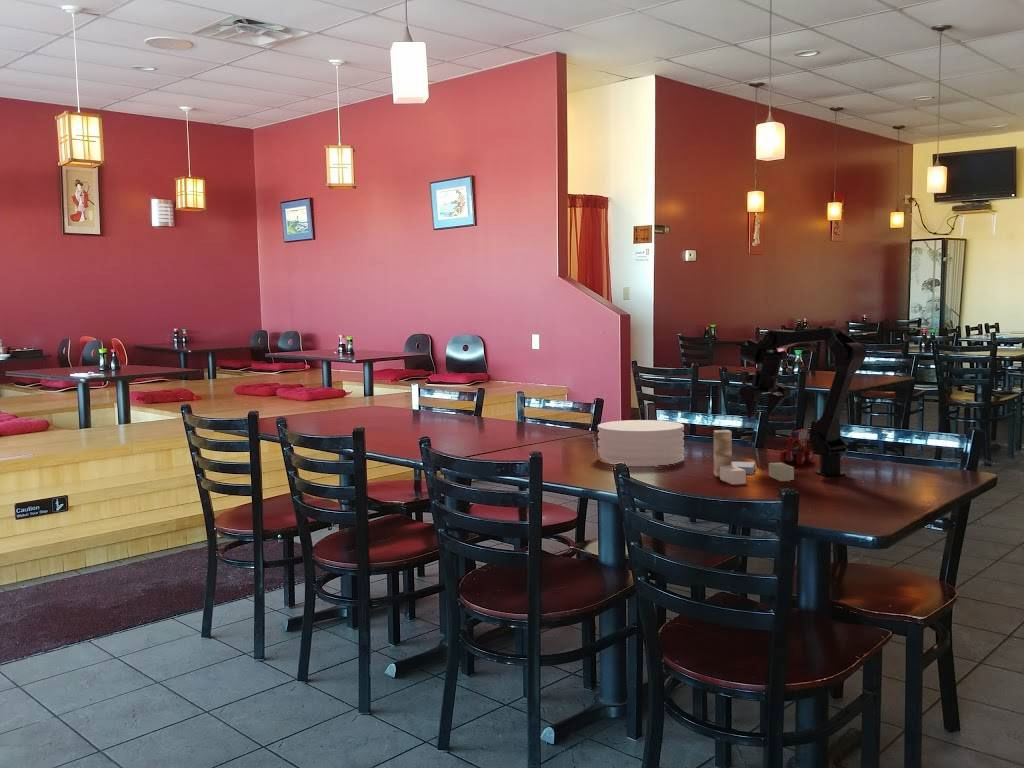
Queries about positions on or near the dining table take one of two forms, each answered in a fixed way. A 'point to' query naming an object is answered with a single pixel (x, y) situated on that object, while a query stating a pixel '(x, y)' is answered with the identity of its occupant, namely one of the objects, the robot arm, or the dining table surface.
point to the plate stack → (641, 442)
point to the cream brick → (733, 475)
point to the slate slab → (745, 466)
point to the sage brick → (781, 471)
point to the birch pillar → (722, 450)
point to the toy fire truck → (797, 448)
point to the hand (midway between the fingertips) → (758, 416)
